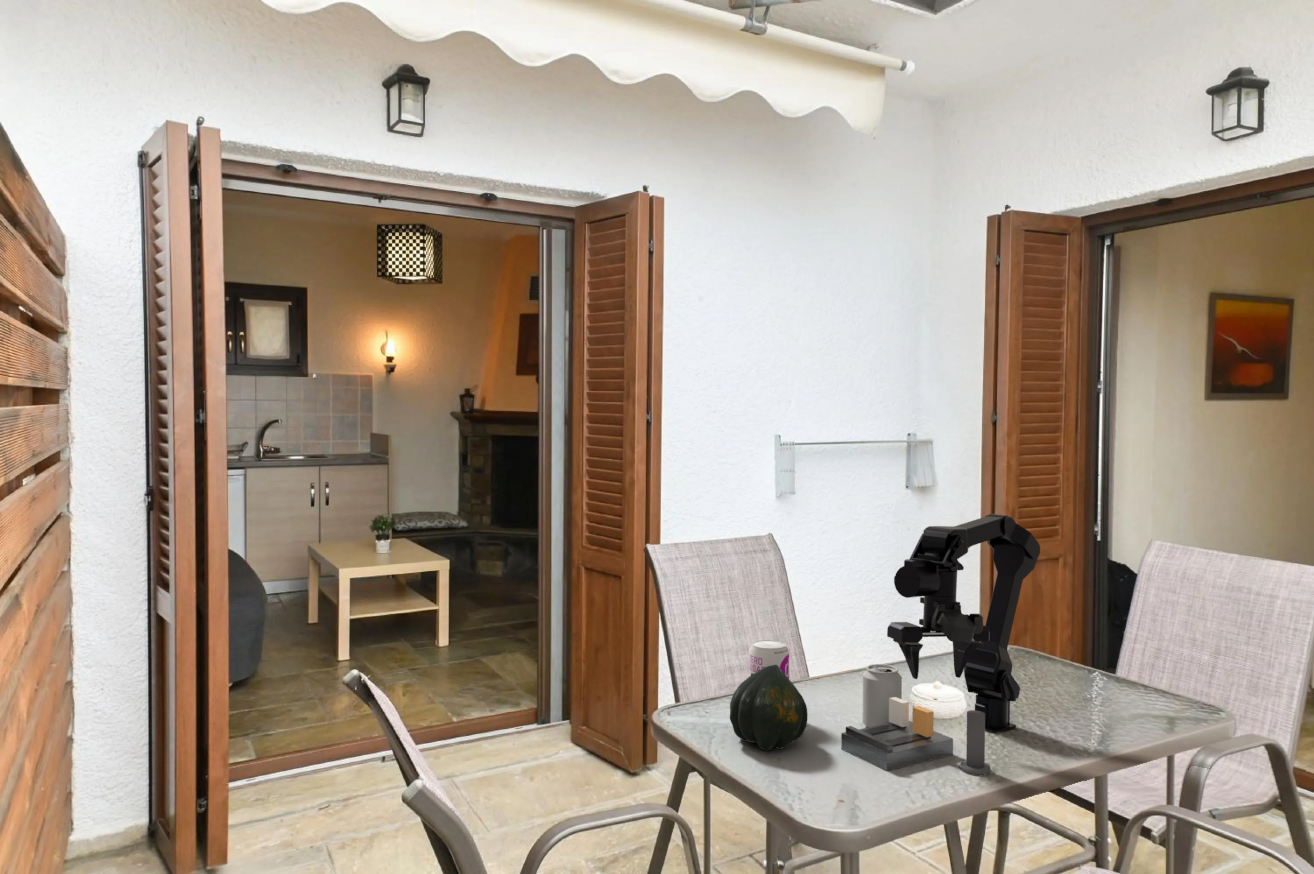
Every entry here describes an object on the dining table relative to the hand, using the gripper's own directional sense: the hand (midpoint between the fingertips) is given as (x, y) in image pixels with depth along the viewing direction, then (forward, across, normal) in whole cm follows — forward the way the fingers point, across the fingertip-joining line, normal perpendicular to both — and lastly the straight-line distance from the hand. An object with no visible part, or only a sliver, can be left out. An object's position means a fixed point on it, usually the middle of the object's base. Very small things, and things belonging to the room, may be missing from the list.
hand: (936, 677), depth 170 cm
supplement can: (+14, -23, +25) cm, 36 cm away
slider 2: (+10, -4, -2) cm, 11 cm away
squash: (+14, -29, +11) cm, 34 cm away
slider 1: (+10, -5, +4) cm, 12 cm away
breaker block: (+13, -8, 0) cm, 16 cm away
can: (+13, -4, +12) cm, 18 cm away
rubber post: (+13, 0, -12) cm, 18 cm away
